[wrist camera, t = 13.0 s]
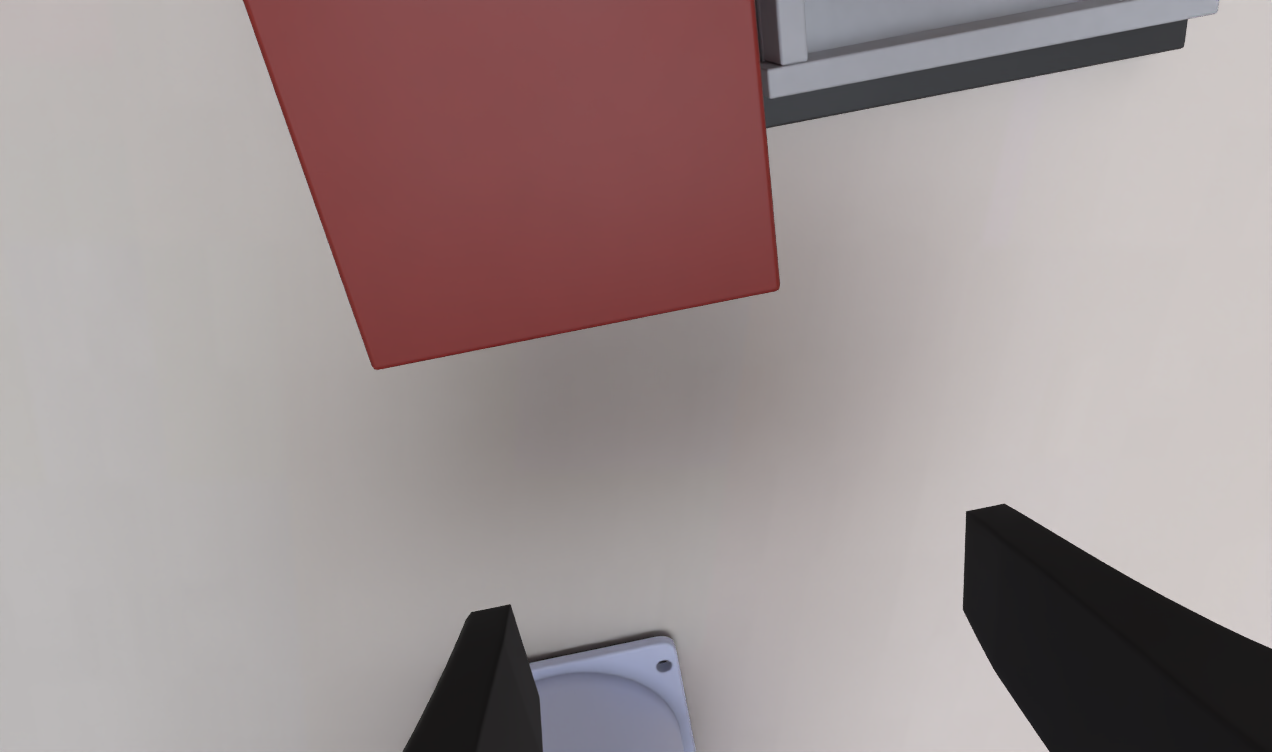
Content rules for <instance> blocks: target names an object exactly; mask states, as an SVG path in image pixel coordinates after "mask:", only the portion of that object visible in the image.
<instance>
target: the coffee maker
mask: <svg viewBox="0 0 1272 752" xmlns="http://www.w3.org/2000/svg"><path fill="white" fill-rule="evenodd" d="M243 2H244V4H245V7H246V10H247V13H248V16H249V19H250V21H251V24H252V27H253V30H254V33H255V36H256V38H257V41H258V44H259V47H260V50H261V53H262V56H263V58H264V61H265V64H266V67H267V70H268V73H269V75H270V78H271V81H272V84H273V87H274V90H275V92H276V95H277V98H278V101H279V104H280V107H281V109H282V112H283V115H284V118H285V121H286V124H287V126H288V129H289V132H290V135H291V138H292V141H293V144H294V146H295V149H296V152H297V155H298V158H299V161H300V163H301V166H302V169H303V172H304V175H305V178H306V180H307V183H308V186H309V189H310V192H311V195H312V197H313V200H314V203H315V206H316V209H317V212H318V214H319V217H320V220H321V223H322V226H323V229H324V232H325V234H326V237H327V240H328V243H329V246H330V249H331V251H332V254H333V257H334V260H335V263H336V266H337V268H338V271H339V274H340V277H341V280H342V283H343V285H344V288H345V291H346V294H347V297H348V300H349V302H350V305H351V308H352V311H353V314H354V317H355V319H356V322H357V325H358V328H359V331H360V334H361V337H362V339H363V342H364V345H365V348H366V351H367V354H368V356H369V359H370V362H371V365H372V367H373V368H374V369H376V370H379V369H384V368H389V367H394V366H400V365H405V364H410V363H415V362H420V361H425V360H430V359H435V358H440V357H445V356H450V355H455V354H460V353H465V352H470V351H475V350H480V349H485V348H490V347H496V346H501V345H506V344H511V343H516V342H521V341H526V340H531V339H536V338H541V337H546V336H551V335H556V334H561V333H566V332H571V331H576V330H581V329H587V328H592V327H597V326H602V325H607V324H612V323H617V322H622V321H627V320H632V319H637V318H642V317H647V316H652V315H657V314H662V313H667V312H672V311H678V310H683V309H688V308H693V307H698V306H703V305H708V304H713V303H718V302H723V301H728V300H733V299H738V298H743V297H748V296H753V295H758V294H763V293H768V292H774V291H777V290H779V286H780V279H779V268H778V257H777V246H776V234H775V223H774V212H773V201H772V190H771V178H770V167H769V156H768V145H767V134H766V128H770V127H775V126H780V125H786V124H791V123H796V122H801V121H806V120H812V119H817V118H822V117H827V116H832V115H838V114H843V113H848V112H853V111H858V110H864V109H869V108H874V107H879V106H884V105H890V104H895V103H900V102H905V101H910V100H916V99H921V98H926V97H931V96H936V95H942V94H947V93H952V92H957V91H962V90H967V89H973V88H978V87H983V86H988V85H993V84H999V83H1004V82H1009V81H1014V80H1019V79H1025V78H1030V77H1035V76H1040V75H1045V74H1051V73H1056V72H1061V71H1066V70H1071V69H1077V68H1082V67H1087V66H1092V65H1097V64H1103V63H1108V62H1113V61H1118V60H1123V59H1129V58H1134V57H1139V56H1144V55H1149V54H1155V53H1160V52H1165V51H1170V50H1175V49H1181V48H1183V47H1184V43H1185V36H1186V28H1187V21H1188V19H1191V18H1196V17H1201V16H1206V15H1212V14H1215V13H1217V11H1218V5H1219V0H243Z"/></svg>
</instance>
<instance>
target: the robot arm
mask: <svg viewBox="0 0 1272 752" xmlns="http://www.w3.org/2000/svg"><path fill="white" fill-rule="evenodd" d="M963 611H964V613H965V615H966V617H967V619H968V621H969V623H970V625H971V627H972V629H973V631H974V633H975V635H976V637H977V639H978V641H979V643H980V644H981V646H982V648H983V650H984V652H985V654H986V656H987V658H988V659H989V661H990V663H991V665H992V667H993V669H994V670H995V672H996V673H997V675H998V676H999V678H1000V679H1001V681H1002V682H1003V684H1004V685H1005V687H1006V688H1007V690H1008V691H1009V693H1010V694H1011V696H1012V697H1013V699H1014V700H1015V702H1016V703H1017V705H1018V706H1019V708H1020V709H1021V711H1022V712H1023V714H1024V715H1025V717H1026V718H1027V719H1028V721H1029V722H1030V724H1031V725H1032V727H1033V728H1034V730H1035V731H1036V733H1037V734H1038V736H1039V737H1040V738H1041V740H1042V741H1043V743H1044V744H1045V746H1046V747H1047V749H1048V750H1049V752H1272V649H1271V648H1269V647H1266V646H1264V645H1262V644H1260V643H1257V642H1255V641H1253V640H1250V639H1248V638H1246V637H1244V636H1242V635H1240V634H1238V633H1235V632H1233V631H1231V630H1229V629H1227V628H1225V627H1223V626H1221V625H1219V624H1217V623H1215V622H1213V621H1211V620H1209V619H1207V618H1205V617H1203V616H1201V615H1199V614H1197V613H1195V612H1193V611H1191V610H1189V609H1187V608H1185V607H1183V606H1182V605H1180V604H1178V603H1176V602H1174V601H1172V600H1170V599H1168V598H1166V597H1164V596H1162V595H1161V594H1159V593H1157V592H1155V591H1153V590H1151V589H1150V588H1148V587H1146V586H1144V585H1142V584H1140V583H1139V582H1137V581H1135V580H1133V579H1132V578H1130V577H1128V576H1126V575H1124V574H1123V573H1121V572H1119V571H1117V570H1116V569H1114V568H1112V567H1110V566H1109V565H1107V564H1105V563H1104V562H1102V561H1100V560H1098V559H1097V558H1095V557H1093V556H1092V555H1090V554H1088V553H1087V552H1085V551H1083V550H1082V549H1080V548H1078V547H1077V546H1075V545H1073V544H1072V543H1070V542H1068V541H1067V540H1065V539H1063V538H1062V537H1060V536H1058V535H1057V534H1055V533H1053V532H1052V531H1050V530H1048V529H1047V528H1045V527H1043V526H1042V525H1040V524H1038V523H1037V522H1035V521H1033V520H1032V519H1030V518H1028V517H1027V516H1025V515H1023V514H1022V513H1020V512H1018V511H1016V510H1015V509H1013V508H1011V507H1009V506H1008V505H1006V504H1000V505H996V506H991V507H986V508H981V509H976V510H971V511H966V533H965V563H964V593H963ZM663 660H667V662H665V663H658V662H660V661H663ZM403 752H696V749H695V744H694V738H693V733H692V728H691V723H690V718H689V713H688V708H687V702H686V697H685V692H684V687H683V682H682V677H681V672H680V666H679V661H678V656H677V651H676V646H675V643H674V641H673V640H672V639H671V638H669V637H666V636H657V637H652V638H647V639H642V640H638V641H633V642H628V643H623V644H618V645H614V646H609V647H604V648H599V649H594V650H590V651H585V652H580V653H575V654H570V655H566V656H561V657H556V658H551V659H546V660H542V661H537V662H532V663H529V662H528V659H527V655H526V652H525V649H524V646H523V643H522V640H521V636H520V633H519V630H518V627H517V624H516V621H515V617H514V614H513V611H512V608H511V605H505V606H500V607H495V608H490V609H485V610H480V611H475V612H471V614H470V615H469V616H468V618H467V619H466V621H465V623H464V626H463V628H462V630H461V633H460V635H459V637H458V640H457V642H456V644H455V647H454V649H453V651H452V654H451V656H450V658H449V660H448V662H447V665H446V667H445V669H444V671H443V673H442V675H441V677H440V680H439V682H438V684H437V686H436V688H435V690H434V692H433V694H432V696H431V698H430V700H429V702H428V704H427V706H426V708H425V710H424V712H423V714H422V716H421V718H420V720H419V722H418V724H417V726H416V728H415V730H414V732H413V733H412V735H411V737H410V739H409V741H408V743H407V745H406V746H405V748H404V750H403Z"/></svg>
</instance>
